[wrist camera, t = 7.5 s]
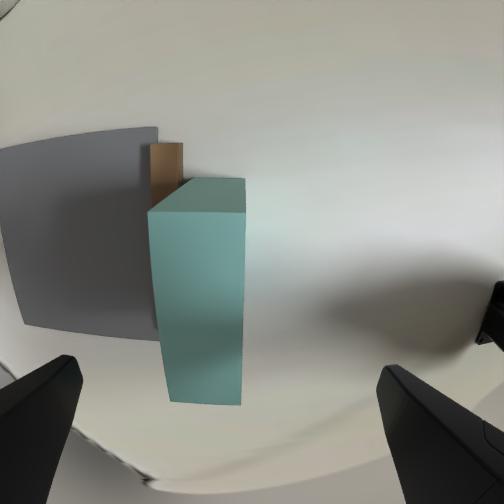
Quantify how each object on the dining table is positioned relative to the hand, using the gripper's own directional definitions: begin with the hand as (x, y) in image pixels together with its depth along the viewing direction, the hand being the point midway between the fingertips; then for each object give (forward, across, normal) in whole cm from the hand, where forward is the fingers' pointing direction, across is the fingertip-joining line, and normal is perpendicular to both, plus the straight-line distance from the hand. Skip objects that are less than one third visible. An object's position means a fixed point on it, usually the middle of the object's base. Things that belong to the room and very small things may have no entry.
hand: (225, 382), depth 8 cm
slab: (+12, +1, 0) cm, 12 cm away
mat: (+12, +11, 0) cm, 16 cm away
